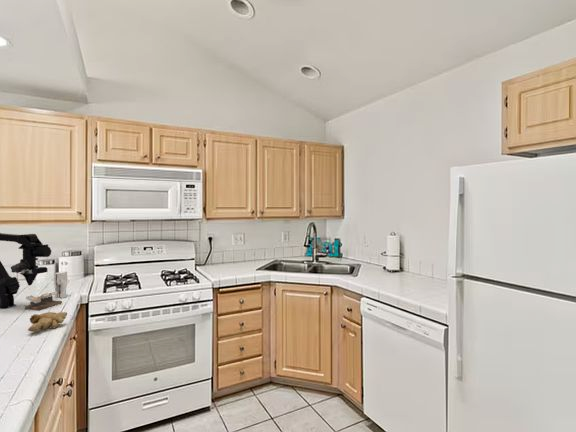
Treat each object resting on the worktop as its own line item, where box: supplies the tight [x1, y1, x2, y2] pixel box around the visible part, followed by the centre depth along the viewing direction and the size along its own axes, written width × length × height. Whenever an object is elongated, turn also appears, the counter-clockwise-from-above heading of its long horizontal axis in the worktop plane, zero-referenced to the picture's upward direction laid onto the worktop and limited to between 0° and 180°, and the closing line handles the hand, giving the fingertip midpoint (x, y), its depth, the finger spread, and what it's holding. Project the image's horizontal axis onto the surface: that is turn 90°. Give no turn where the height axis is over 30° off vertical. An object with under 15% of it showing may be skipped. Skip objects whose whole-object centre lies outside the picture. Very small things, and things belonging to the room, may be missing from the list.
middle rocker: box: [36, 292, 50, 299], centre depth 182 cm, size 7×3×1 cm, turn 75°
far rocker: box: [45, 291, 57, 298], centre depth 186 cm, size 7×3×1 cm, turn 75°
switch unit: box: [24, 295, 63, 311], centre depth 182 cm, size 10×13×4 cm
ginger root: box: [27, 311, 68, 333], centre depth 150 cm, size 16×16×8 cm
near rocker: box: [25, 295, 41, 303], centre depth 178 cm, size 7×3×1 cm, turn 76°
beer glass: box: [53, 271, 68, 299], centre depth 200 cm, size 7×7×15 cm
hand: (29, 285), depth 180 cm, fingers closed
